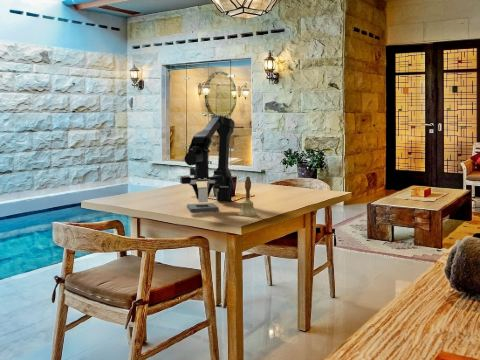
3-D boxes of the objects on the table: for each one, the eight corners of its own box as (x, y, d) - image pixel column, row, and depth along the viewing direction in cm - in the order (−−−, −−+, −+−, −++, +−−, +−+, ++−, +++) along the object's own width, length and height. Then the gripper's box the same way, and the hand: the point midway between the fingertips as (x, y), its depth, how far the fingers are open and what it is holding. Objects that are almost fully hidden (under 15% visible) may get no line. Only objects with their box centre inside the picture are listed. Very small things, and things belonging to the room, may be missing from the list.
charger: (206, 200, 231) (205, 187, 230) (207, 202, 227) (207, 188, 226) (197, 201, 230) (196, 187, 229) (198, 202, 226) (198, 188, 225)
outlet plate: (213, 206, 236) (213, 202, 236) (218, 211, 225) (218, 207, 224) (186, 207, 233) (186, 203, 233) (191, 212, 222) (191, 208, 221)
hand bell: (256, 212, 221) (256, 175, 219) (258, 216, 212) (258, 177, 210) (237, 212, 220) (237, 175, 218) (237, 216, 212) (237, 178, 210)
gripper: (218, 161, 236) (219, 195, 238) (178, 162, 232) (178, 196, 234) (224, 163, 226) (224, 198, 228) (181, 164, 221) (182, 200, 223)
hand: (202, 198), depth 228 cm, fingers closed on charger, 4 cm apart
